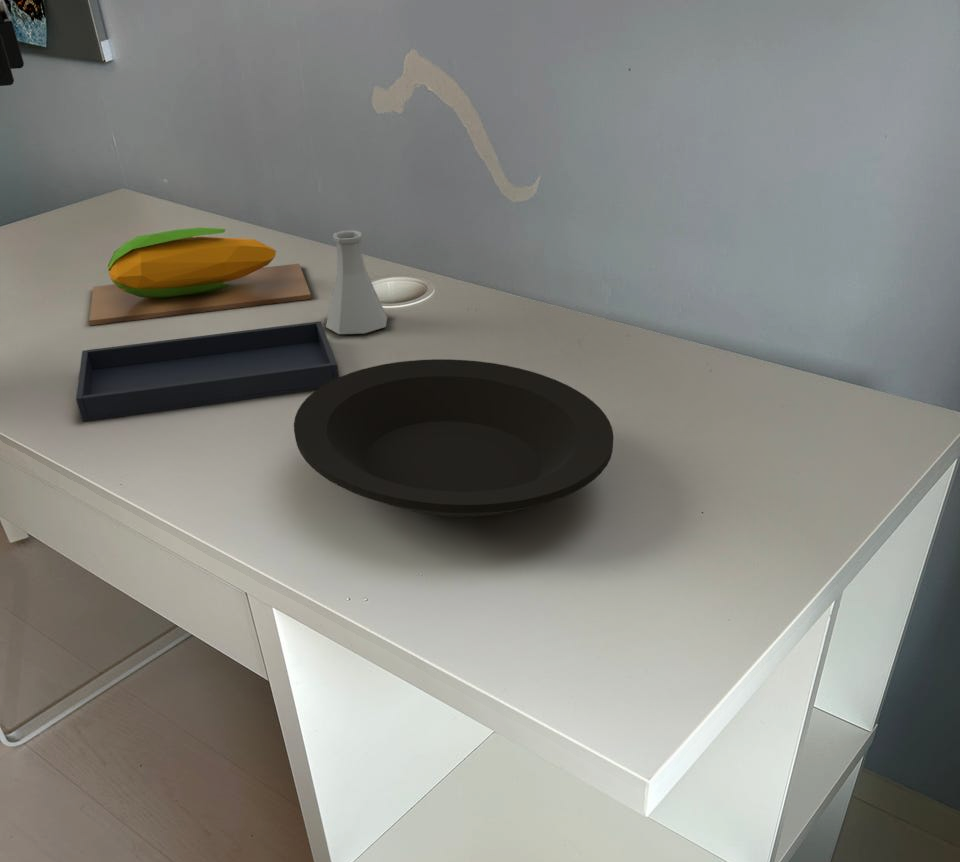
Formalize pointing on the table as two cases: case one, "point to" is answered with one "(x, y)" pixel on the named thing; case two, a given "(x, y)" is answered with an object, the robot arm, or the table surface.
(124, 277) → the corn
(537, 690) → the table surface
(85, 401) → the tray
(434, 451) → the plate
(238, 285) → the board
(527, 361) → the table surface
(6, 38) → the robot arm
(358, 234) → the flask
